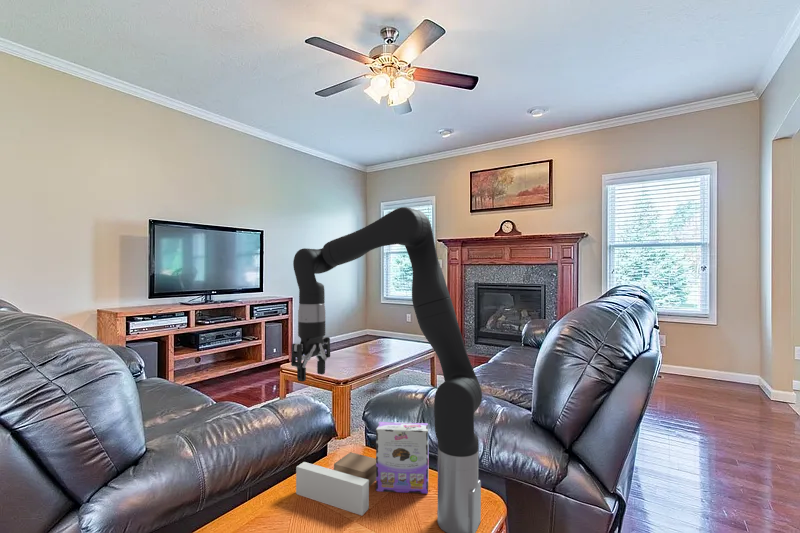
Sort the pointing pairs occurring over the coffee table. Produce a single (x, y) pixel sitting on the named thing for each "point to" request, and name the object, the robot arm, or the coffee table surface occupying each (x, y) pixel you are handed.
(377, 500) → the coffee table surface
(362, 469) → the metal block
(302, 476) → the painted board
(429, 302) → the robot arm
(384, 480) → the candy box
